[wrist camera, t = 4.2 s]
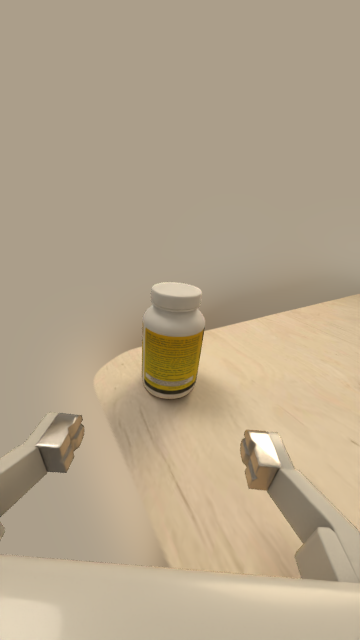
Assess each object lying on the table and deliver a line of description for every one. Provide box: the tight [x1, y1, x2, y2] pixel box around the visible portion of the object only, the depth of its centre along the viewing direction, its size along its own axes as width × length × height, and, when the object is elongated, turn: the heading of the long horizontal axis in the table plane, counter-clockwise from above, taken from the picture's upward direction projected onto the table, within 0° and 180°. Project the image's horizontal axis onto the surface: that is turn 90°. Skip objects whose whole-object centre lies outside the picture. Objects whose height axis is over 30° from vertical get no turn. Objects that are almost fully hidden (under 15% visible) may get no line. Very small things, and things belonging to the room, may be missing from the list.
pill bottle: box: [142, 282, 205, 399], centre depth 20 cm, size 6×6×11 cm
